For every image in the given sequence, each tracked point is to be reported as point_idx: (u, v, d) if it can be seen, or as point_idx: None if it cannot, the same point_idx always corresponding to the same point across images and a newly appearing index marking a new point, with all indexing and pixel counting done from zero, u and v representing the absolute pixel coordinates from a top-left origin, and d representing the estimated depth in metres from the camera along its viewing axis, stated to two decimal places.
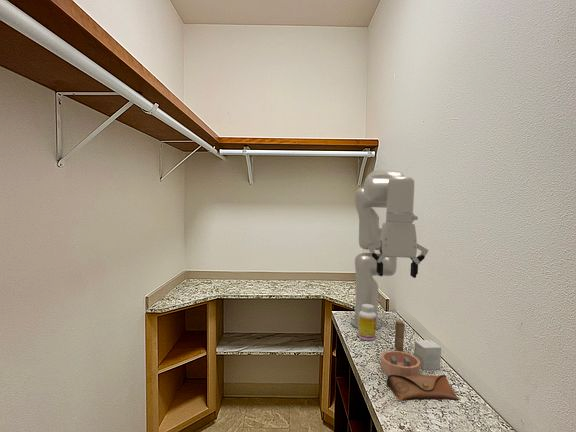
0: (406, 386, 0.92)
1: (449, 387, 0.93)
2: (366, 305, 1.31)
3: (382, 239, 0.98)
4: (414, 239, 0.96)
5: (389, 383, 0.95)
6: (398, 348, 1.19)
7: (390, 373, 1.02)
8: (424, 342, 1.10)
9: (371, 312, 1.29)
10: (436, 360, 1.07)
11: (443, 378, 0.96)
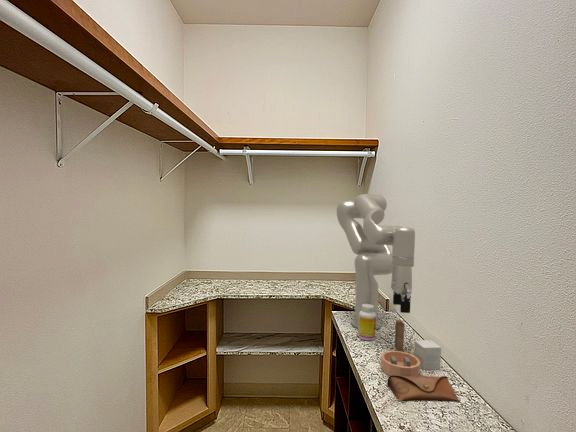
0: (407, 387, 0.92)
1: (450, 389, 0.92)
2: (366, 305, 1.31)
3: (409, 281, 1.15)
4: None
5: (389, 383, 0.95)
6: (398, 348, 1.19)
7: (390, 373, 1.02)
8: (424, 342, 1.10)
9: (371, 312, 1.29)
10: (436, 360, 1.07)
11: (444, 379, 0.95)
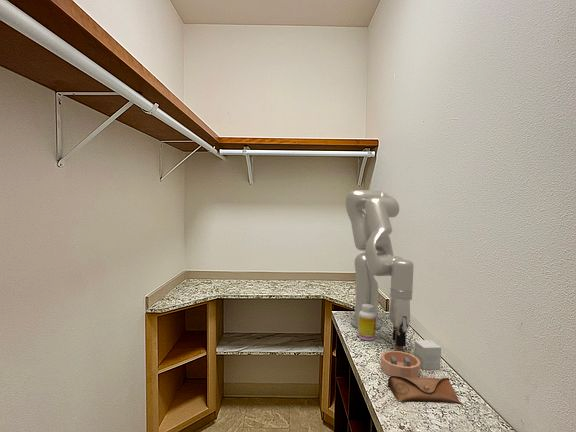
0: (407, 387, 0.91)
1: (451, 390, 0.91)
2: (366, 305, 1.31)
3: (407, 315, 1.16)
4: None
5: (390, 384, 0.94)
6: (398, 348, 1.19)
7: (390, 373, 1.02)
8: (424, 342, 1.10)
9: (371, 312, 1.29)
10: (436, 360, 1.07)
11: (446, 381, 0.94)
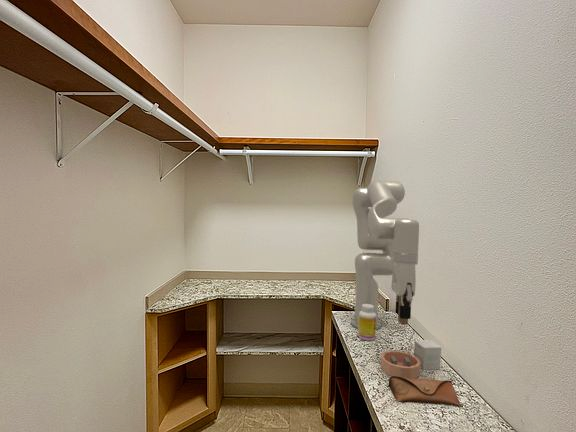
0: (407, 388, 0.91)
1: (453, 393, 0.90)
2: (366, 305, 1.31)
3: (412, 281, 1.00)
4: None
5: (390, 384, 0.94)
6: (402, 321, 1.03)
7: (390, 373, 1.02)
8: (424, 342, 1.10)
9: (371, 312, 1.29)
10: (436, 360, 1.07)
11: (448, 383, 0.93)
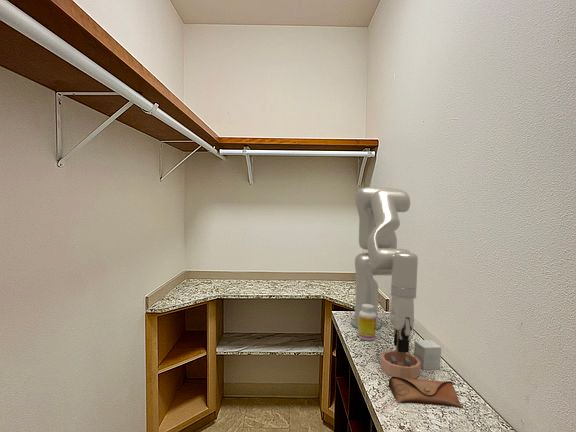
0: (407, 389, 0.91)
1: (453, 394, 0.89)
2: (366, 305, 1.31)
3: (411, 316, 1.00)
4: None
5: (390, 385, 0.94)
6: (400, 354, 1.03)
7: (390, 373, 1.02)
8: (424, 342, 1.10)
9: (371, 312, 1.29)
10: (436, 360, 1.07)
11: (449, 384, 0.92)
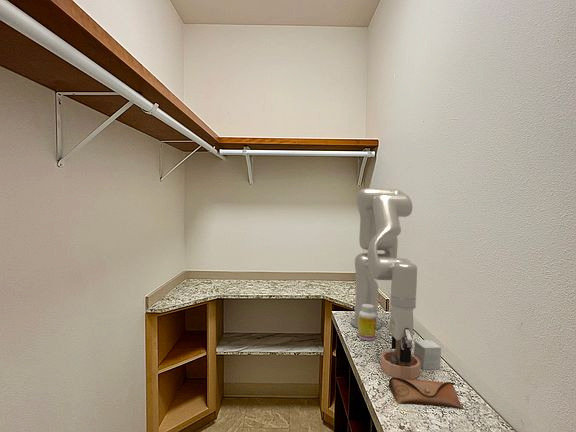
0: (407, 390, 0.90)
1: (454, 395, 0.89)
2: (366, 305, 1.31)
3: (410, 326, 1.00)
4: None
5: (390, 386, 0.94)
6: None
7: (390, 373, 1.02)
8: (424, 342, 1.10)
9: (371, 312, 1.29)
10: (436, 360, 1.07)
11: (449, 385, 0.92)
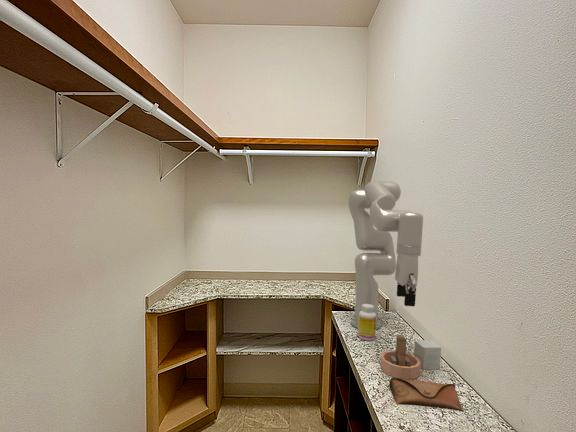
0: (407, 390, 0.90)
1: (455, 397, 0.88)
2: (366, 305, 1.31)
3: (415, 272, 1.04)
4: None
5: (391, 386, 0.94)
6: None
7: (390, 373, 1.02)
8: (424, 342, 1.10)
9: (371, 312, 1.29)
10: (436, 360, 1.07)
11: (450, 387, 0.91)
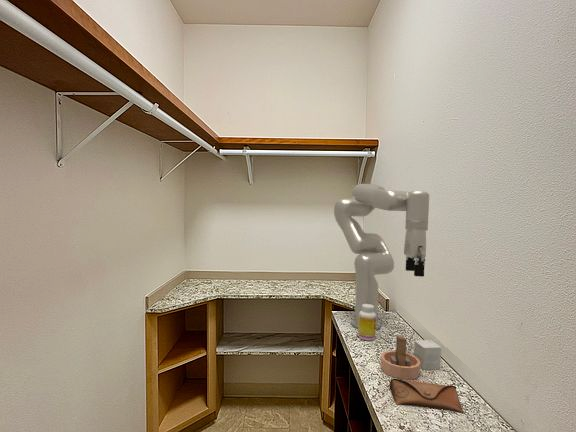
0: (407, 391, 0.89)
1: (455, 399, 0.87)
2: (366, 305, 1.31)
3: (423, 244, 1.14)
4: None
5: (391, 386, 0.93)
6: None
7: (390, 373, 1.02)
8: (424, 342, 1.10)
9: (371, 312, 1.29)
10: (436, 360, 1.07)
11: (451, 389, 0.90)
